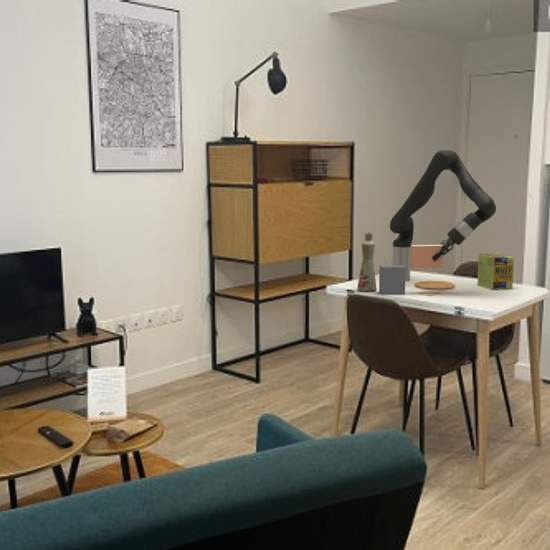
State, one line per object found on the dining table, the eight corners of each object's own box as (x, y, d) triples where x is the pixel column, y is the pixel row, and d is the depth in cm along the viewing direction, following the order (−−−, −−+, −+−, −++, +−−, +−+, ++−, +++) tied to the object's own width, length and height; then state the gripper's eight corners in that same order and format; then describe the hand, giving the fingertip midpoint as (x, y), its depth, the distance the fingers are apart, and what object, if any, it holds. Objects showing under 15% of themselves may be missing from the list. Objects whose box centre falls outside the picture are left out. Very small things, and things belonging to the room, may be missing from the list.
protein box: (492, 290, 319) (494, 257, 317) (477, 284, 334) (478, 253, 332) (513, 289, 321) (514, 257, 319) (496, 284, 336) (497, 253, 334)
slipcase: (380, 295, 308) (381, 267, 306) (379, 292, 315) (379, 265, 313) (405, 295, 308) (405, 267, 306) (402, 292, 314) (403, 265, 312)
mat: (414, 293, 313) (414, 292, 313) (431, 291, 317) (431, 290, 317) (429, 296, 304) (429, 295, 304) (445, 294, 309) (446, 293, 309)
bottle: (375, 293, 313) (377, 233, 308) (356, 292, 315) (357, 232, 311) (377, 290, 321) (378, 231, 317) (358, 289, 323) (359, 231, 319)
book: (411, 268, 308) (412, 246, 306) (410, 266, 311) (410, 245, 309) (442, 267, 307) (443, 245, 306) (440, 266, 311) (441, 244, 309)
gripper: (450, 225, 313) (423, 251, 315) (458, 228, 299) (429, 255, 301) (461, 236, 314) (434, 262, 316) (469, 240, 300) (441, 267, 302)
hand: (432, 259), depth 309 cm, fingers closed on book, 3 cm apart
